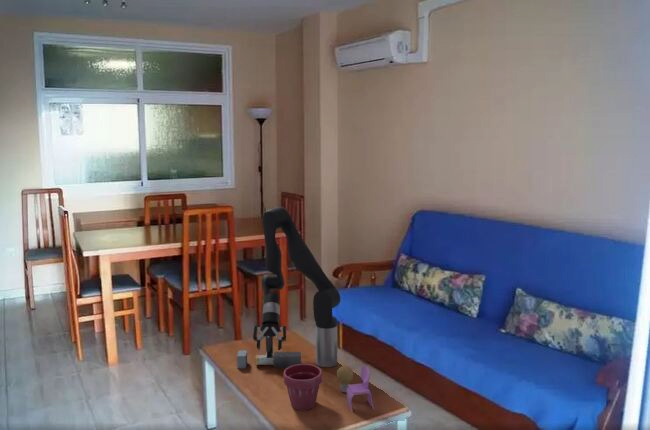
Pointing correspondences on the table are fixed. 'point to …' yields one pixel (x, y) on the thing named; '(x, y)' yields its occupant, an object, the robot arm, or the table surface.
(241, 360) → the socket
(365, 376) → the toy chair
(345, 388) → the light bulb
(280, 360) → the sleeve
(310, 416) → the table surface
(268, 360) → the block with knob
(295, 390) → the plant pot
